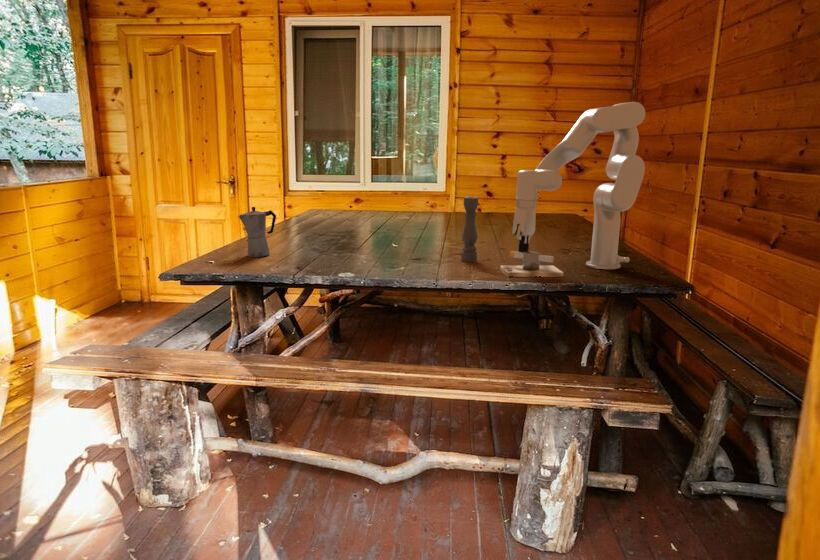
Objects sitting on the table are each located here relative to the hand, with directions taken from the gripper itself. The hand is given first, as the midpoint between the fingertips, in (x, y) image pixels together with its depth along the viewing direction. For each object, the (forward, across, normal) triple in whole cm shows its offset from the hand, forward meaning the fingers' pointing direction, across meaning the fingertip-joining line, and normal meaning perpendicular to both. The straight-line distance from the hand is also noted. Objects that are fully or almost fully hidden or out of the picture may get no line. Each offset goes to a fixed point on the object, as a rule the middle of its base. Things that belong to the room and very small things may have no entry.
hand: (523, 253), depth 209 cm
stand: (+6, +5, +6) cm, 9 cm away
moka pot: (+6, +46, -96) cm, 106 cm away
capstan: (+4, +5, +6) cm, 8 cm away
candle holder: (+6, -1, -24) cm, 25 cm away
